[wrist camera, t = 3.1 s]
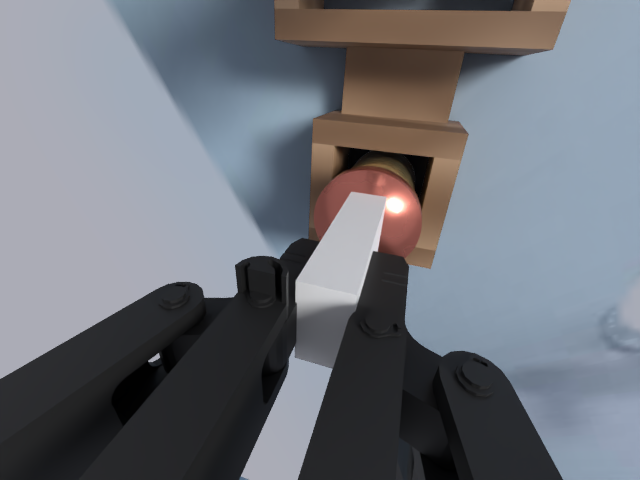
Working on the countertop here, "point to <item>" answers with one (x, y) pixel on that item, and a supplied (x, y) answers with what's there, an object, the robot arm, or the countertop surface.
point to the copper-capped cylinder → (382, 180)
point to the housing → (407, 86)
